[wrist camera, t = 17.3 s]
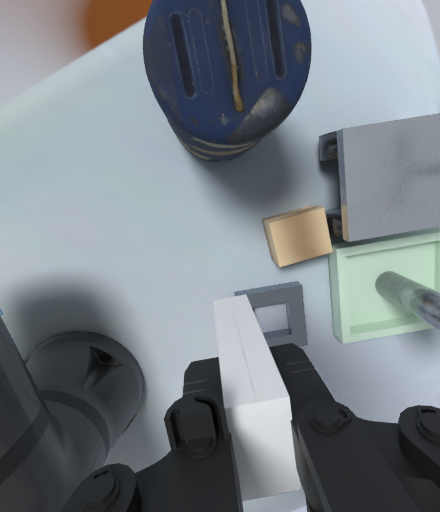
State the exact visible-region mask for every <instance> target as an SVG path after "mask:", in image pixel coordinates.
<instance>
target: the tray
mask: <svg viewBox="0 0 440 512" xmlns="http://www.w3.org/2000/svg"><path fill="white" fill-rule="evenodd" d="M331 246H332V251H333V252H331V253H328V265H329V278H330V292H331V305H332V319H333V332H334V335H335V336H336V337H337V338H338V339H339V340H340V341H341V343H342V344H345V343H351V342H357V341H363V340H368V339H374V338H380V337H385V336H391V335H397V334H403V333H408V332H414V331H420V330H426V329H431V328H435V327H434V326H432V325H430V324H429V323H427V322H425V321H424V320H422V319H420V318H419V317H417V316H415V315H414V314H412V313H411V312H409V311H407V310H406V309H404V308H402V307H401V306H399V305H397V304H396V303H394V302H392V301H391V300H389V299H388V298H386V297H384V296H383V295H381V294H379V293H378V292H377V290H376V287H375V283H376V280H377V278H378V277H379V276H380V275H381V274H382V273H384V272H386V271H393V272H395V273H398V274H400V275H402V276H404V277H407V278H409V279H411V280H413V281H415V282H418V283H420V284H422V285H424V286H427V287H429V288H431V289H433V290H435V291H438V292H440V227H434V228H428V229H422V230H416V231H411V232H405V233H399V234H393V235H387V236H381V237H375V238H369V239H363V240H357V241H351V242H348V241H347V242H341V243H335V244H331Z"/></svg>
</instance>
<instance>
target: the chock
mask: <svg viewBox="0 0 440 512" xmlns="http://www.w3.org/2000/svg"><path fill="white" fill-rule="evenodd" d="M262 222H263V226H264V230H265V235H266V239H267V243H268V247H269V251H270V255H271V259H272V260H273V261H274V262H275V263H276V264H277V265H278V266H279V267H283V266H286V265H290V264H293V263H296V262H300V261H303V260H307V259H310V258H314V257H317V256H321V255H324V254H328V253H331V252H333V251H332V246H331V240H330V235H329V230H328V225H327V220H326V215H325V210H324V207H319V206H313V205H310V206H306V207H303V208H299V209H296V210H293V211H289V212H286V213H282V214H279V215H275V216H272V217H268V218H265V219H262Z"/></svg>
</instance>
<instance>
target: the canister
mask: <svg viewBox="0 0 440 512" xmlns="http://www.w3.org/2000/svg"><path fill="white" fill-rule="evenodd" d="M143 55H144V64H145V69H146V73H147V77H148V80H149V83H150V85H151V88H152V91H153V93H154V95H155V98H156V100H157V101H158V103H159V105H160V107H161V109H162V110H163V112H164V114H165V116H166V118H167V119H168V122H169V124H170V126H171V127H172V129H173V131H174V133H175V134H176V136H177V138H178V139H179V141H180V142H181V144H182V145H183V146H184V147H185V148H186V149H187V150H188V151H189V152H190V153H192V154H193V155H195V156H197V157H199V158H201V159H204V160H207V161H213V162H223V161H228V160H231V159H234V158H236V157H238V156H240V155H241V154H243V153H244V152H246V151H248V150H249V149H251V148H252V147H253V146H254V145H256V144H257V143H258V142H259V141H260V140H261V139H262V138H263V137H265V136H266V135H267V134H269V133H270V132H272V131H273V130H274V129H276V128H277V127H278V126H279V125H280V124H281V123H282V122H283V121H284V120H285V119H286V118H287V117H288V115H289V114H290V113H291V112H292V110H293V109H294V107H295V105H296V104H297V102H298V100H299V99H300V97H301V94H302V92H303V90H304V87H305V84H306V82H307V78H308V74H309V69H310V63H311V33H310V27H309V22H308V19H307V15H306V12H305V10H304V7H303V5H302V3H301V1H300V0H153V1H152V4H151V6H150V9H149V12H148V15H147V18H146V23H145V28H144V35H143Z"/></svg>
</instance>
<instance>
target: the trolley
mask: <svg viewBox="0 0 440 512" xmlns="http://www.w3.org/2000/svg"><path fill="white" fill-rule="evenodd" d="M319 147H320V161H324V160H331V159H337V158H338V163H339V180H340V196H341V208H336V209H331V210H328V211H326V212H325V215H326V220H327V225H328V230H329V235H330V236H331V237H341V238H343V240H345V241H348V242H351V241H357V240H363V239H369V238H375V237H381V236H387V235H393V234H399V233H405V232H411V231H416V230H422V229H428V228H434V227H440V113H439V114H432V115H426V116H420V117H414V118H408V119H401V120H395V121H389V122H383V123H376V124H370V125H364V126H358V127H352V128H345V129H341V130H339V131H335V132H331V133H328V134H324V135H322V136H319Z"/></svg>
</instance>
